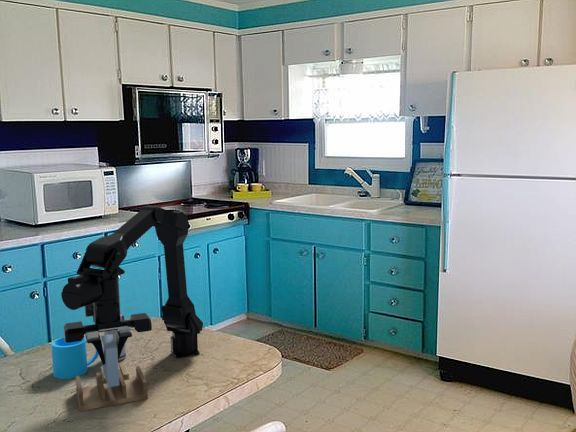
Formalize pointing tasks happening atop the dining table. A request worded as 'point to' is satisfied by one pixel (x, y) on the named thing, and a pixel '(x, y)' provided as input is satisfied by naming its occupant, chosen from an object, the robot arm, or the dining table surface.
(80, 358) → the mug
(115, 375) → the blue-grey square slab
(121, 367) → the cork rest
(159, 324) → the dining table surface
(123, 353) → the energy drink
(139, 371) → the rack
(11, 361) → the dining table surface
